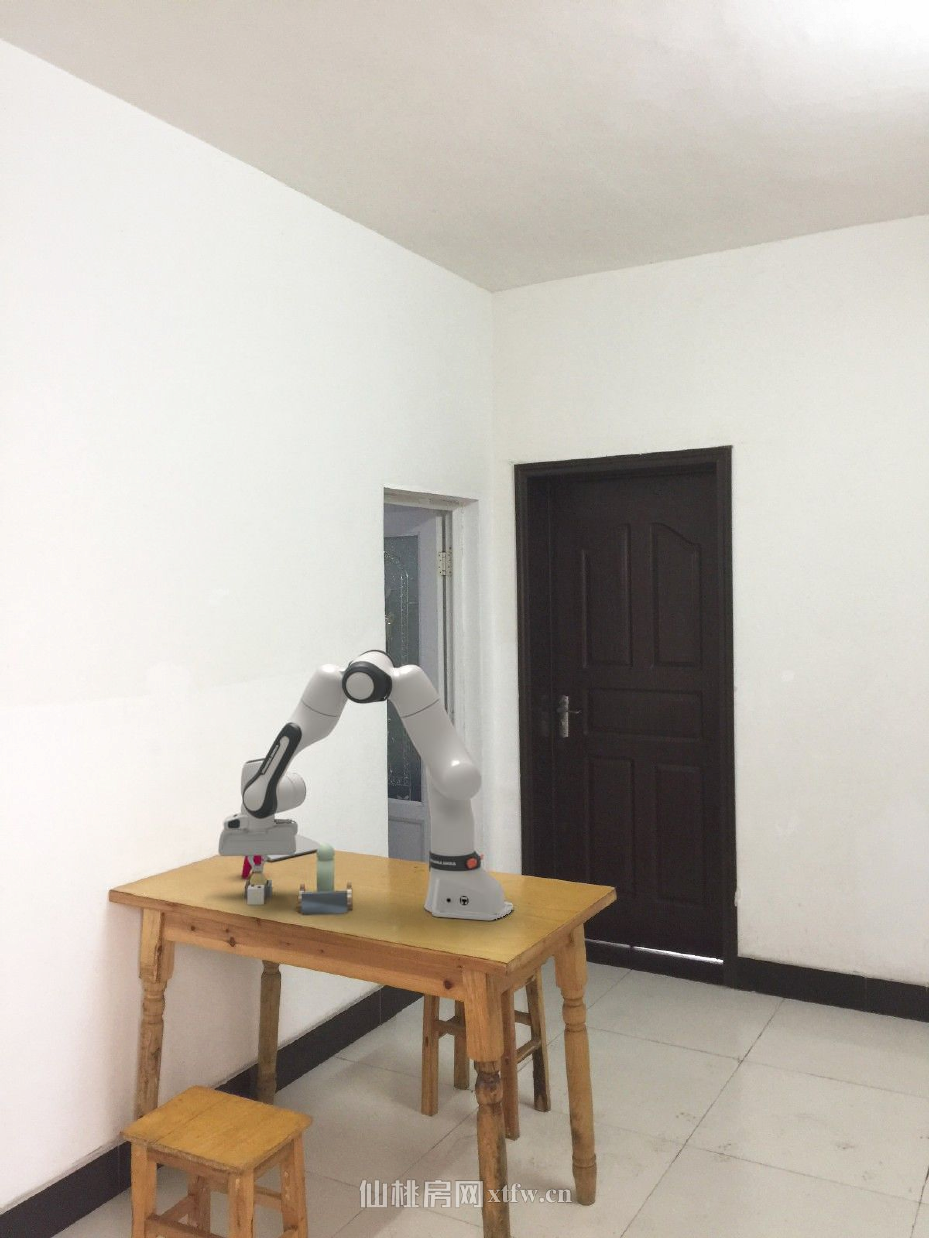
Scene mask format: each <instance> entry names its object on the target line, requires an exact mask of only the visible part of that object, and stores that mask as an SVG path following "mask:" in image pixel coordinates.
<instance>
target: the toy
mask: <svg viewBox="0 0 929 1238" xmlns="http://www.w3.org/2000/svg"><path fill="white" fill-rule="evenodd" d="M262 861H263V859H262V857H261V855H256V856H254V858H253V862H254V863H255V864H261V863H262ZM242 864H243V866H242V870H241V871H242V872H241V878H242V879H247V878H248V877H249V876H250V874H251V876H252V875H253V874H254V873H255V872H252V866H251V864H250V863H249V861H248V856H245V857H244V860H243V863H242Z"/></svg>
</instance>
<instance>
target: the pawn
mask: <svg viewBox="0 0 929 1238" xmlns="http://www.w3.org/2000/svg"><path fill="white" fill-rule="evenodd" d="M320 845H321V846H320V847H319V848H318V849H317V851H316V857H317V859H316V892H322V891H335V858H334V857H335V854H336V852H335V849H334V846H332V845H331V844H328V843H323V844H320Z"/></svg>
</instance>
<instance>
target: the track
mask: <svg viewBox="0 0 929 1238" xmlns="http://www.w3.org/2000/svg"><path fill="white" fill-rule="evenodd" d="M352 889H353V888H352V882H346V890H334V891H322V892H317V891H305V890H306V884H305V883H300V884H299V891H298V897H297V898H298V899H297V906H296V910H297V911H296V912H298V913H299V912H301V915H321V914H322V915H325V914H348V911H352V910H353V893H352V891H353V890H352Z"/></svg>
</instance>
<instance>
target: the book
mask: <svg viewBox="0 0 929 1238" xmlns="http://www.w3.org/2000/svg"><path fill="white" fill-rule="evenodd" d="M295 836H296V852H295V853H294V854H293V855H268V858H267V861H269V862H274V861H275V860H276V861H279V860H283V859H289V858H292V856H293V857H296V856H295V855H297V856H300V855H305V854H311V853H314V852H317V849H318V848H319V847H320V846H321V845H322V844H320V843H319V842H317V841H316V840H313V839H312V838H310V837H307V836H304V835H301V834H298V833H297V834H296V835H295ZM261 857H262V855H261ZM276 861H275V862H276Z"/></svg>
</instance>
